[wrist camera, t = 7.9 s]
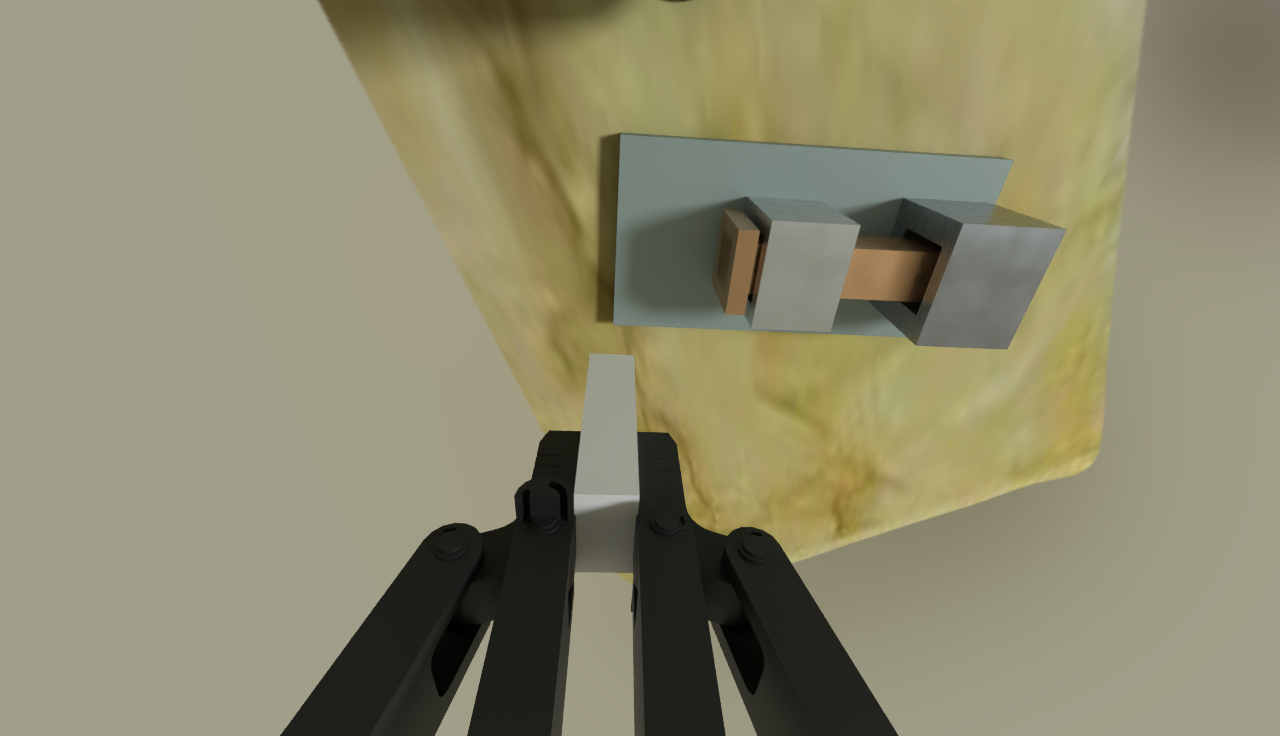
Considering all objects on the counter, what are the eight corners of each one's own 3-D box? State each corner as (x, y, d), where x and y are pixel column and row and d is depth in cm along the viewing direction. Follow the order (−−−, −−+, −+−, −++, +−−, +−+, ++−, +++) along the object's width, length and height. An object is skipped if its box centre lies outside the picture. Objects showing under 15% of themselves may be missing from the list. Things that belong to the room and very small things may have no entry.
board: (620, 132, 32) (620, 134, 31) (1001, 157, 33) (1013, 160, 32) (613, 318, 38) (613, 324, 37) (931, 331, 40) (939, 338, 39)
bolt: (722, 208, 32) (739, 229, 28) (943, 220, 33) (993, 243, 29) (711, 283, 35) (725, 314, 30) (917, 293, 36) (959, 324, 31)
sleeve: (746, 196, 33) (772, 220, 27) (820, 200, 33) (860, 225, 27) (731, 290, 36) (751, 328, 31) (798, 293, 36) (830, 332, 31)
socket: (903, 197, 33) (963, 223, 27) (988, 202, 33) (1066, 229, 28) (869, 302, 37) (916, 345, 31) (946, 306, 37) (1007, 349, 31)
